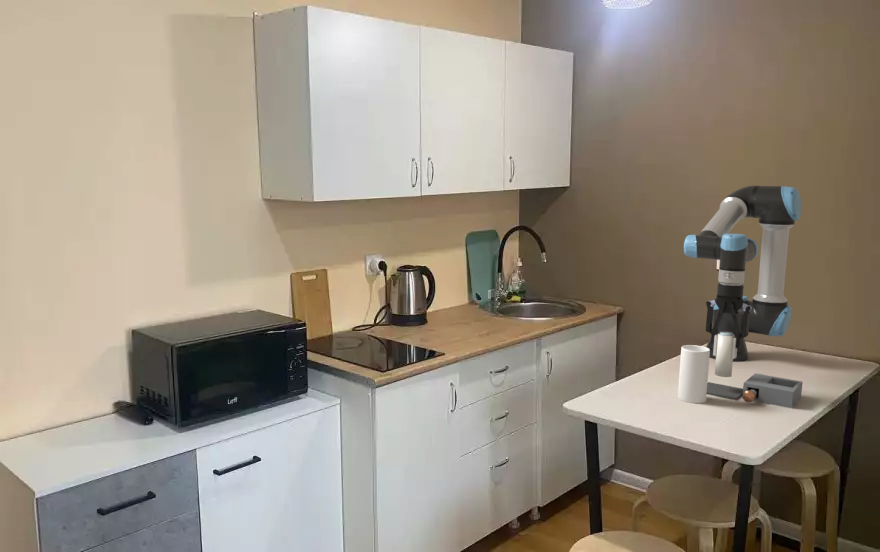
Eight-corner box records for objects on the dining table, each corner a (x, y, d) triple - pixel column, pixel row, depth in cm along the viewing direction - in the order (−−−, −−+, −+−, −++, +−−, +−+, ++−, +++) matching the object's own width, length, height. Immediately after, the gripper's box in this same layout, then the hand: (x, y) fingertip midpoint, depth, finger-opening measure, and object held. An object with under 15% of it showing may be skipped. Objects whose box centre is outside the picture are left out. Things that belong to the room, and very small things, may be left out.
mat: (708, 383, 238) (708, 382, 238) (746, 391, 231) (746, 389, 231) (696, 392, 229) (696, 390, 228) (736, 400, 221) (736, 398, 221)
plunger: (750, 393, 227) (751, 382, 226) (762, 395, 225) (763, 384, 224) (741, 401, 218) (742, 390, 218) (753, 403, 216) (754, 392, 216)
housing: (753, 388, 234) (755, 373, 234) (801, 397, 226) (802, 381, 225) (742, 398, 223) (743, 382, 222) (791, 408, 215) (793, 392, 214)
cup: (702, 395, 225) (705, 345, 223) (709, 404, 217) (713, 352, 215) (675, 394, 226) (678, 344, 224) (681, 402, 218) (684, 350, 216)
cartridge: (711, 372, 231) (715, 331, 229) (726, 372, 232) (729, 331, 230) (719, 377, 226) (723, 334, 224) (734, 376, 227) (738, 334, 225)
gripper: (697, 281, 227) (692, 353, 230) (758, 288, 216) (751, 363, 220) (705, 279, 233) (699, 349, 236) (764, 285, 222) (757, 359, 226)
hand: (724, 356), depth 228 cm, fingers closed on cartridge, 5 cm apart
